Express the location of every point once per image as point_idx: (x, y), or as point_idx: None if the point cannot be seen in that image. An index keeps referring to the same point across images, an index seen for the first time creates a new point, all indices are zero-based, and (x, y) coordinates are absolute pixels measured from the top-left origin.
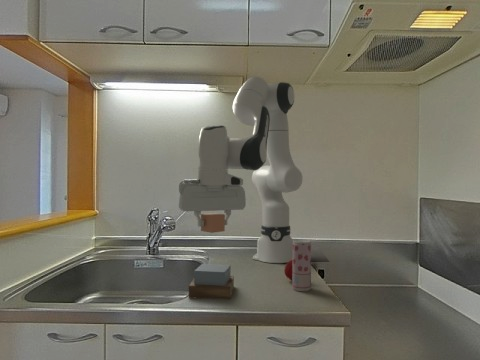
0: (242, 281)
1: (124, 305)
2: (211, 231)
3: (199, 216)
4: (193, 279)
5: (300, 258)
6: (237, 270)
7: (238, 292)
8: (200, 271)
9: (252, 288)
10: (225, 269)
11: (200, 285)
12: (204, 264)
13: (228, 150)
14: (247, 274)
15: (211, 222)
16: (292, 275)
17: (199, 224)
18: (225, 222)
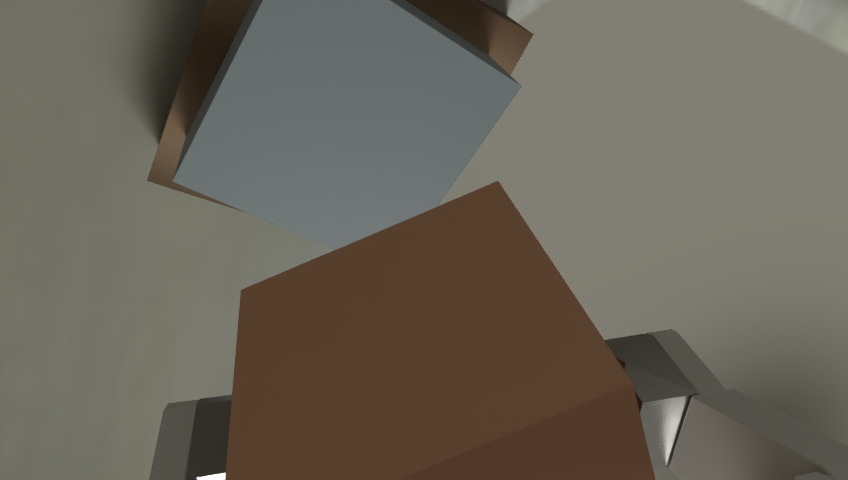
0: (71, 239)
1: (838, 11)
2: (506, 194)
3: (785, 446)
4: None
5: None
6: (65, 446)
7: (152, 8)
8: (480, 58)
9: (18, 66)
10: (258, 35)
11: (458, 14)
12: None
13: None
14: (6, 368)
15: (564, 285)
16: None
17: (684, 348)
18: (203, 427)
